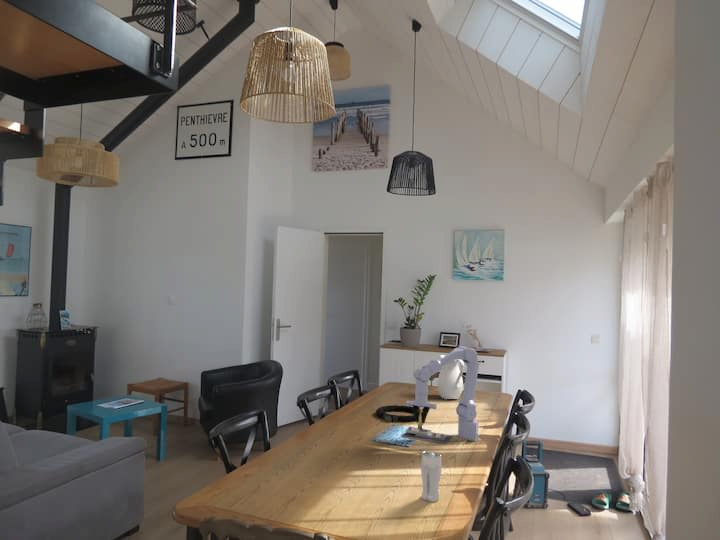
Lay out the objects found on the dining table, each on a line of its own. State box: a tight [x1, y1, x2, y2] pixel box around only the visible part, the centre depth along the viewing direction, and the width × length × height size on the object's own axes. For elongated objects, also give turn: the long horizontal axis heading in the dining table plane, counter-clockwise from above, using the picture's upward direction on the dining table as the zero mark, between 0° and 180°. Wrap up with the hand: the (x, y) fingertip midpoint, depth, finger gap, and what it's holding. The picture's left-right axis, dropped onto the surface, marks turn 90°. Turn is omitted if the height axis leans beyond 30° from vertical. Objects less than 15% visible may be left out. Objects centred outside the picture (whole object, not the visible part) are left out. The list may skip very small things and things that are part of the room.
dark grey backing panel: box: [400, 431, 454, 445], centre depth 246 cm, size 22×16×1 cm
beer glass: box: [420, 450, 443, 503], centre depth 176 cm, size 7×7×15 cm
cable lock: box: [375, 404, 422, 423], centre depth 287 cm, size 28×4×30 cm
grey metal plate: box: [405, 426, 448, 441], centre depth 247 cm, size 19×6×3 cm, turn 66°
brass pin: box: [417, 411, 424, 430], centre depth 242 cm, size 2×2×8 cm
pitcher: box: [436, 354, 465, 400], centre depth 338 cm, size 24×17×28 cm
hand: (420, 422), depth 242 cm, fingers closed on brass pin, 2 cm apart
